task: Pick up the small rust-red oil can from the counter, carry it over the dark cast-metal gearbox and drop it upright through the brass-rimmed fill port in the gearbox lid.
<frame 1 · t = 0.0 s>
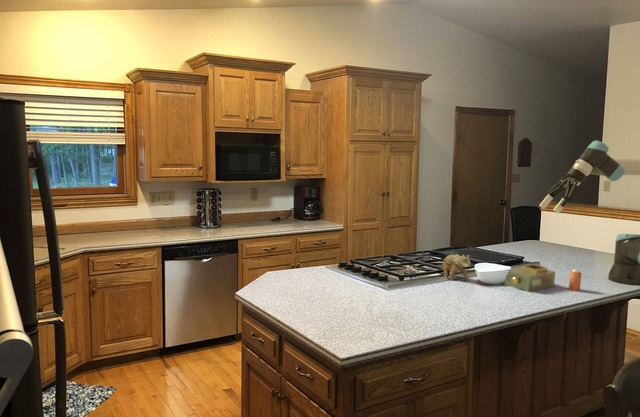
hand: (548, 209, 239), 36 cm above the counter, fingers open, 13 cm apart
gearbox: (529, 285, 246), on the counter
figurine: (455, 279, 255), on the counter
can: (574, 289, 241), on the counter
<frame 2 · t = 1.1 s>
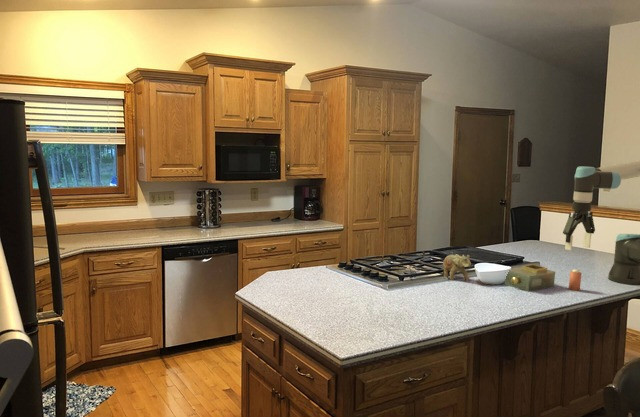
hand: (577, 248, 239), 19 cm above the counter, fingers open, 13 cm apart
nothing on the counter moved.
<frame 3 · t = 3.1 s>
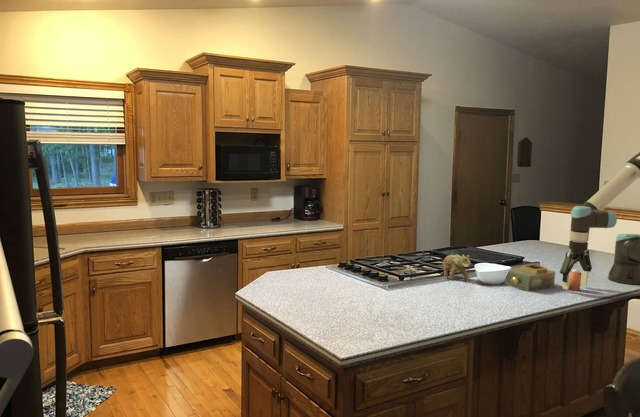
hand: (574, 286, 241), 1 cm above the counter, fingers open, 13 cm apart
nothing on the counter moved.
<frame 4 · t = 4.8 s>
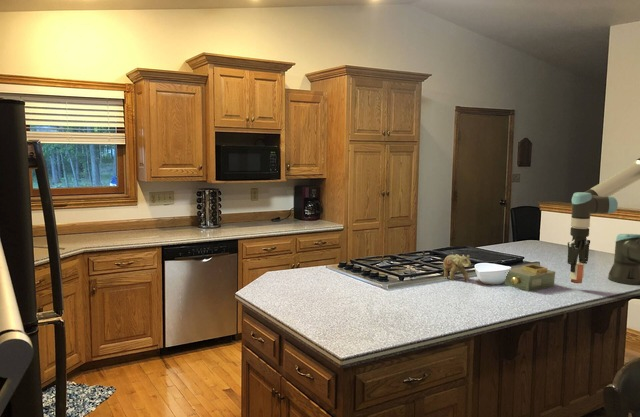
hand: (576, 278, 241), 5 cm above the counter, fingers closed on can, 4 cm apart
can: (576, 281, 241), point 4 cm above the counter, touching gripper
everything else where it was.
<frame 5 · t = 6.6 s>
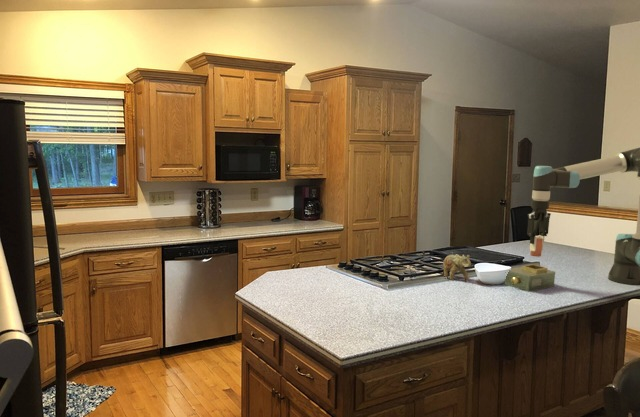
hand: (536, 249, 246), 16 cm above the counter, fingers closed on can, 4 cm apart
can: (535, 255, 246), point 14 cm above the counter, touching gripper
everything else where it was.
when the fingers open (9 cm above the counter, at t = 8.5 s): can drops 6 cm, resting on gearbox.
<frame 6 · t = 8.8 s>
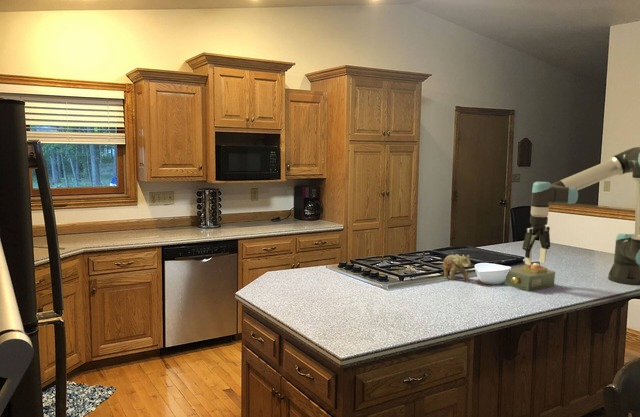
hand: (535, 263, 247), 10 cm above the counter, fingers open, 9 cm apart
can: (534, 282, 248), point 1 cm above the counter, touching gearbox
everything else where it was.
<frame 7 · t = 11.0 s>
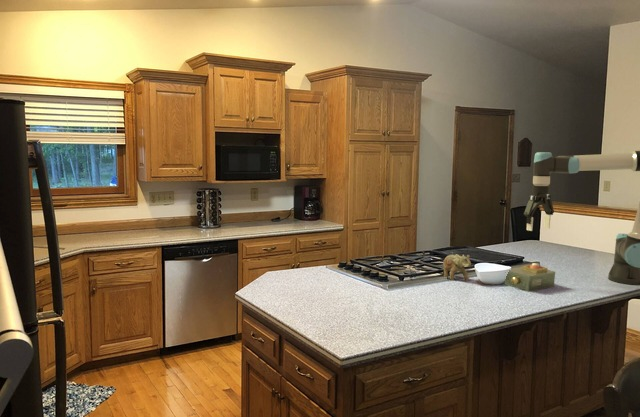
hand: (538, 229, 255), 24 cm above the counter, fingers open, 13 cm apart
nothing on the counter moved.
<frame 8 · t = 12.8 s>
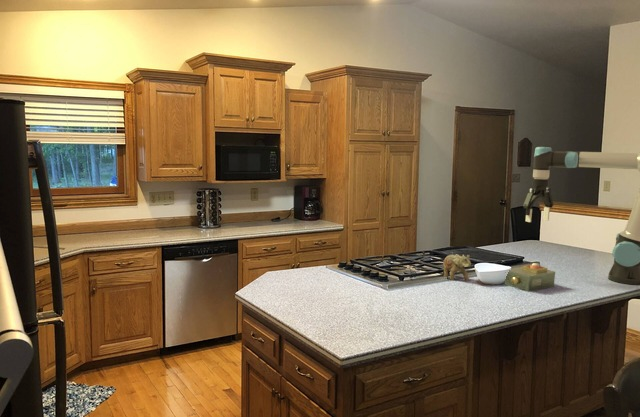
hand: (537, 221, 265), 27 cm above the counter, fingers open, 13 cm apart
nothing on the counter moved.
at the end: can 0.4 cm from the target spot on the gearbox, point 0.8 cm above the gearbox's base; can tilted 0°; the gripper is holding nothing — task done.
